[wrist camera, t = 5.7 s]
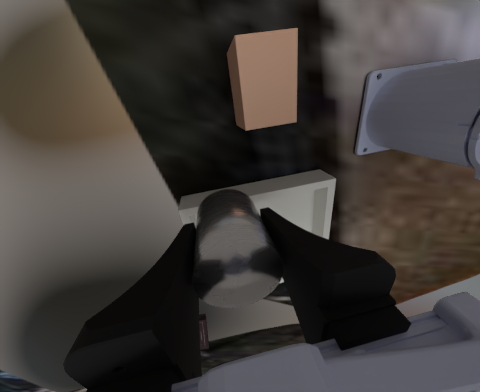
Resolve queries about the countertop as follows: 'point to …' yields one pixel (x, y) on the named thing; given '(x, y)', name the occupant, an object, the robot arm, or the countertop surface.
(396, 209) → the countertop surface
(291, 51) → the carton
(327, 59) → the countertop surface
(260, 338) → the countertop surface
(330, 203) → the tray
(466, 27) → the countertop surface
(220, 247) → the tin
